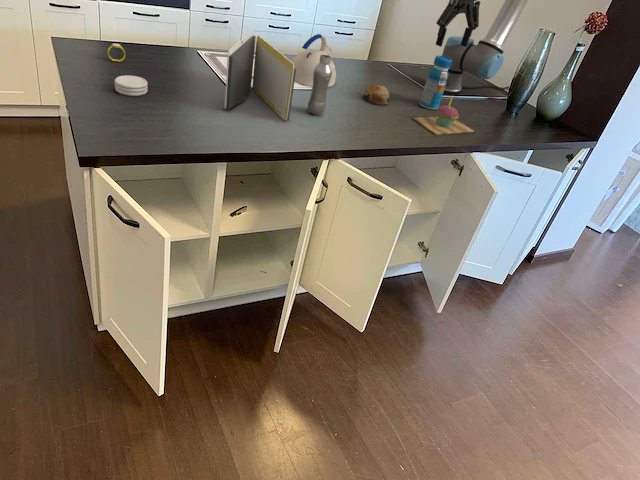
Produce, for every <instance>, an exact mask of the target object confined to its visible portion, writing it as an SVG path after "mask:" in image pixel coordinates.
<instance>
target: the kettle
mask: <svg viewBox="0 0 640 480" xmlns="http://www.w3.org/2000/svg"><path fill="white" fill-rule="evenodd" d="M319 39H320V41H321V42H320V48H319V49H314V48H312V49H308V48H309V47H310V46H311V44H313V43H314V42H315V41H317V40H319ZM301 48H302V49H304V50H303V51H301V52H299V53H298V54H296V56H294V58H293V59H292V60H291V62H292V63H293V64H294V68H295V69H296V74H295V81H294V83H297V84H301V85H303V86H307V87H311V88H312V87H313V72H314V68H315V67H316V66H317V65H318V64H319V63H320V61H319V59H320V56H321V55H328V56H330V54H331V52H332V48H331V47H330V46H329V45H327V39H326V37H325V35H323V34H320V33H317V34H315V35H313V36H311V37H310V38H309V39H308V40H307V41H306V42H304V44H303V45H302V46H301ZM329 65H330V68H331V71H332V75H331V79H330V82H329V85H328V88H331V87H333V86H334V85H336V79H337V78H336V77H337V71H336V67H335V64H334V62H333V60H332V59H331V60H330V63H329Z"/></svg>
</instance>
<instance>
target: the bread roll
mask: <svg viewBox="0 0 640 480" xmlns="http://www.w3.org/2000/svg"><path fill="white" fill-rule="evenodd" d="M363 97H364V99H365V101H367V102H369V103H371V104H374V105H378V106H379V105H380V106H384V105H388V104H389V100H390V91H389V90H388V88H386V87H385V86H384V85H381V84H374V85H371V86H369V87H368V88H366V89H365V91H364V94H363Z"/></svg>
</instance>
